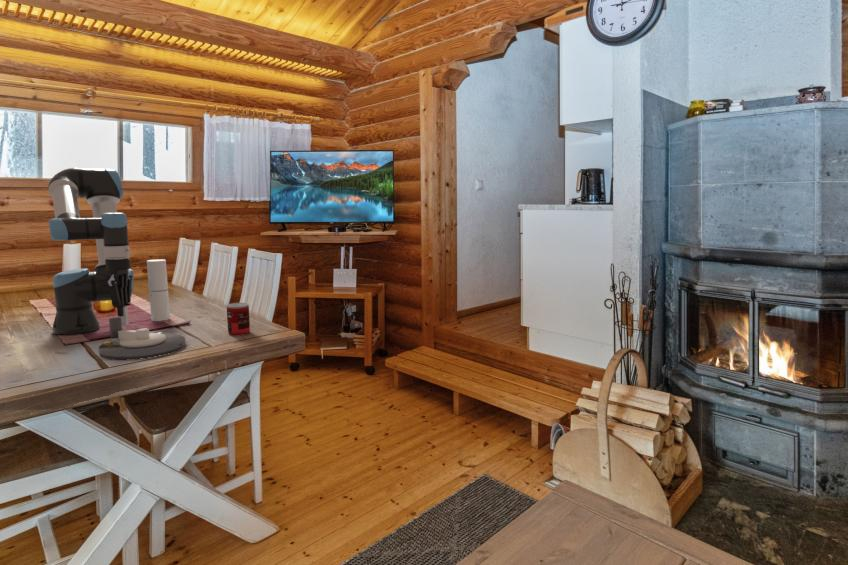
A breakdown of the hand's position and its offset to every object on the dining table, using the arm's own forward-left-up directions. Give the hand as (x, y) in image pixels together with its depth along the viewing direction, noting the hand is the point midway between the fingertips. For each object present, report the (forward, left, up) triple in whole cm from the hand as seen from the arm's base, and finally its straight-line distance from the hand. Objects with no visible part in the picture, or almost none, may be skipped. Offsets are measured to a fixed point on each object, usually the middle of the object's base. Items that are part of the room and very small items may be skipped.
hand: (123, 324), depth 187 cm
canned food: (+36, +13, -7) cm, 39 cm away
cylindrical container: (-4, +37, -7) cm, 38 cm away
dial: (+8, -7, -4) cm, 11 cm away
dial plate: (+10, -7, -7) cm, 14 cm away
